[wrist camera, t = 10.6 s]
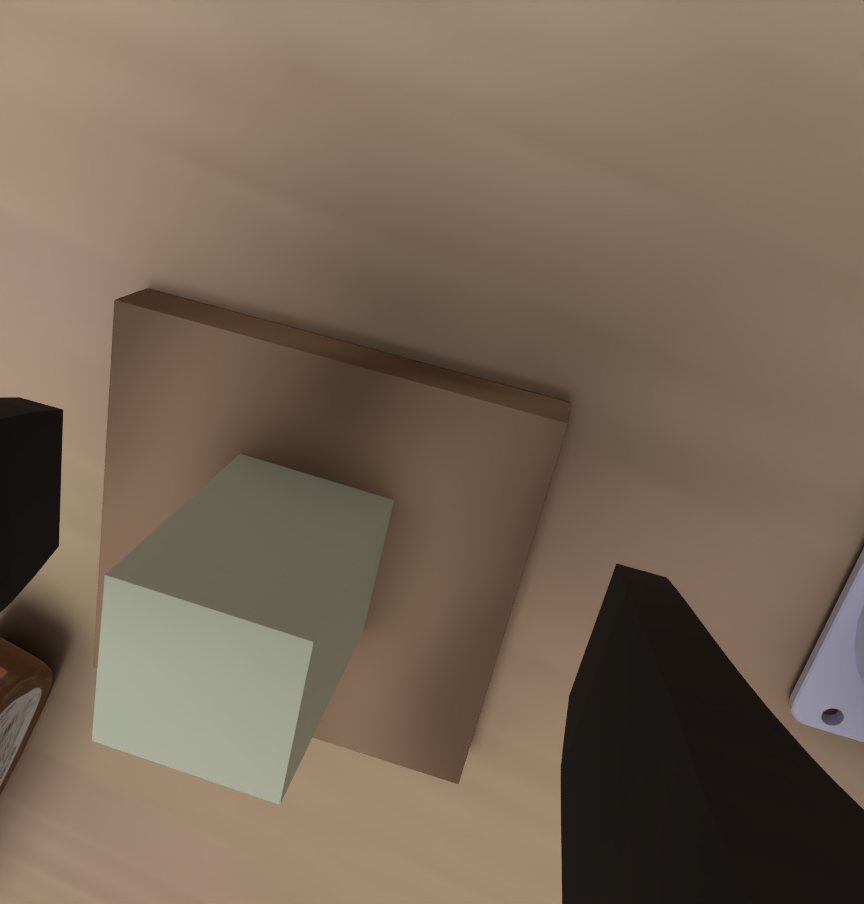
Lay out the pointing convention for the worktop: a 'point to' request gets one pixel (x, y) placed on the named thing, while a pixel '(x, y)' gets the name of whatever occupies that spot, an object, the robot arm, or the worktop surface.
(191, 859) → the worktop surface
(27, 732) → the tin
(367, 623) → the base
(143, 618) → the block
